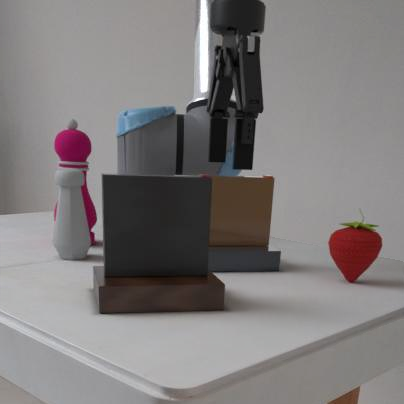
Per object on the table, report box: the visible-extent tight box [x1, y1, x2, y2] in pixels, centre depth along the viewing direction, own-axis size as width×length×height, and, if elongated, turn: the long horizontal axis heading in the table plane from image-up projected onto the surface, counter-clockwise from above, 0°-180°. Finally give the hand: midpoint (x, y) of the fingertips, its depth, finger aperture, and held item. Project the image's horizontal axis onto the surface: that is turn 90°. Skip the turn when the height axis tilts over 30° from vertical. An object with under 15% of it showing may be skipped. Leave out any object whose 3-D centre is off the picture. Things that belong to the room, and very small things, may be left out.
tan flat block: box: [209, 174, 275, 246], centre depth 85 cm, size 11×2×10 cm, turn 104°
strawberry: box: [327, 208, 383, 283], centre depth 78 cm, size 6×8×10 cm
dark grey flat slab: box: [101, 173, 212, 277], centre depth 64 cm, size 12×2×11 cm, turn 103°
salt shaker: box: [52, 168, 92, 261], centre depth 85 cm, size 6×6×13 cm
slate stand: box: [208, 244, 282, 273], centre depth 87 cm, size 12×10×3 cm
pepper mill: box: [53, 118, 98, 246], centre depth 95 cm, size 7×7×20 cm
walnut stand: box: [92, 265, 226, 314], centre depth 66 cm, size 14×10×3 cm
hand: (228, 165), depth 85 cm, fingers open, 13 cm apart
